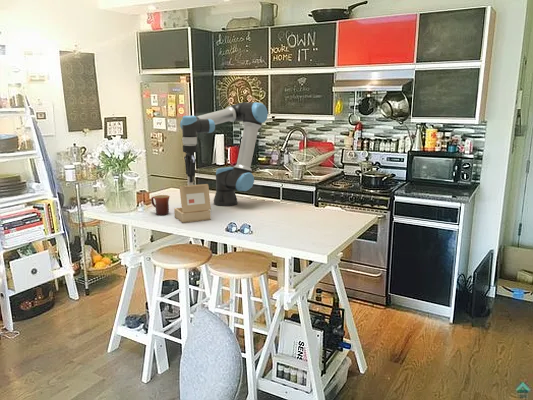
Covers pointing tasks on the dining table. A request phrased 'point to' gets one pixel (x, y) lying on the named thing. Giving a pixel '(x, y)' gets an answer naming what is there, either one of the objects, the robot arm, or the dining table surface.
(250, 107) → the robot arm
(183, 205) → the lid
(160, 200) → the mug
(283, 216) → the dining table surface
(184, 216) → the mailer box
